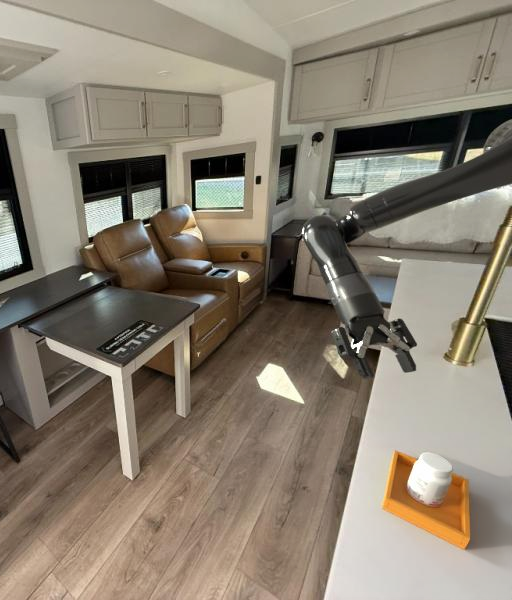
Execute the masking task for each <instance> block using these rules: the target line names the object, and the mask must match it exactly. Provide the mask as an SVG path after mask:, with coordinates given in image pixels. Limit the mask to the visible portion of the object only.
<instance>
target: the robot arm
mask: <svg viewBox="0 0 512 600" xmlns="http://www.w3.org/2000/svg"><path fill="white" fill-rule="evenodd" d="M489 134H490V135H488V137H487V138H486V139H485V143H484V145H483V149H482V153H481V154H479V155H477V156H475V157H473V158H471V159H469V160H467V161H464V162H462V163H459V164H457V165H454V166H451V167H450V168H446V169H444V170H442V171H438V172H435V173H432V174H429V175H425V176H423V177H421V176H420V177H418V178H415V179H412V180H408V181H404V182H401V183H399V184H396V185H394V186H392V187H389V188H386V189H384V190H381V191H380V192H377V193H375V194H373V195H371V196H368V197H366V198H364V199H362V200H359V201H357V202H356V203H354V204H352V205H351V206H350V207H349V210H348V212H347V213H346V214H344V215H342V216H340V217H339V218H337V219H334V218H333V217H331V216H329V215H325V214H319V215H314V216H312V217H310V218H308V220H306V221H305V223H304V224H303V226H302V230H301V237H302V240H303V242H304V244H305V246H306V248H307V249H308V251H309V253H310V255H311V256H312V258H313V260H314V261H315V263H316V265H317V267H318V271H319V273H320V275H321V277H322V279H323V283H324V284H325V286H326V290H327V293H328V296H329V298H330V301H331V303H332V305H333V308H334V310H335V312H336V314H337V316H338V319H339V321H340V322H341V324H342V325H344V326H339V327H337V328H335V329H333V330H331V332H330V333H331V335H332V339H333V342H334V345H335V347H336V350H337V352H338V355H339V357H340V358H341V359H342V360H343V359H348V360H350V361H352V363H353V365H354V367H355V369H356V371H357V374H358V376H360V377H361V378H362V379H363V380H368V379H373V378H374V377H375V374H374V372H373V370H372V367H371V365H370V364H369V361H368V359H367V357H365V355H366V351H367V349H368V348H369V347H370V346H380V345H381V346H382V347H384V348H388V349H389V350H391V351H392V352H393V353H394V356H395V359H396V360H397V362H398V364H399V366H400V368H401V370H402V372H403V373H405V374H406V373H414V372H417V364H416V362H415V360H414V358H413V356H412V354H411V352H410V350H411V349H413V348H416V347H417V346H418V343H417V342H416V339H415V338H414V336H413V335H412V332H411V331H410V330H409V327H408V326H407V324H406V323H405V321H404V319H402V318H400V317H399V318H397V319H394V320H391V321H388V320H386V318H385V309H384V307H383V305H382V303H381V301H380V300H379V298H378V296H377V293H376V292H375V290H374V288H373V286H372V284H371V282H370V280H369V279H368V277H366V275H365V273H364V271H363V270H362V267H361V266H360V263H359V262H358V260H357V258H356V256H355V255H354V254H353V253H352V252H351V250H350V248H349V247H348V245H350V244H352V243H353V242H355V241H357V240H358V239H360V238H361V237H363V236H365V235H367V234H369V233H370V232H374V231H376V230H379V229H382V228H385V227H387V226H390V225H392V224H395V223H397V222H399V221H400V222H401V221H402V220H405V219H407V218H410V217H413V216H415V215H418V214H420V213H423V212H426V211H428V210H432V209H434V208H437V207H440V206H443V205H446V204H449V203H453V202H455V201H458V200H461V199H465V198H468V197H471V196H474V195H478V194H481V193H485V192H489V191H492V190H494V189H498V188H502V187H506V186H509V185H512V118H511V119H509V120H507V121H505V122H503V123H501V124H500V125H499V126H497V127H496V128H494V130H493V131H491V133H489ZM349 337H350V338H351V341H350V339H349Z"/></svg>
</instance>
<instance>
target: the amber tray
mask: <svg viewBox="0 0 512 600" xmlns="http://www.w3.org/2000/svg"><path fill="white" fill-rule="evenodd" d="M418 460H419V458H416V457H413V456H411V455H408V454H406V453H403V452H401V451H398V450H394V452H393V453H392V457H391V460H390V465H389V470H388V475H387V481H386V485H385V489H384V495H383V500H382V504H381V509H383V510H385V511H386V512H389V513H390V514H392V515H394V516H397V517H398V518H400V519H403V521H404V520H405V521H406V522H408V523H410V524H413V525H414V526H416V527H418V528H420V529H422V530H424V531H425V532H428V533H430V534H432V535H434V536H436V537H438V538H440V539H441V540H444V541H446V542H448V543H450V544H452V545H454V546H456V547H457V548H460V549H462V550H463V551H464V550H466V548H467V546H468V544H469V543H470V541H471V517H470V514H471V513H470V481H469V478H466V477H463V476H461V475H458V474H456V473H454V472H452V473H451V477H452V481H451V484H450V486H449V489H448V491H447V493H446V496H445V498H444V500H443V502H442V504H441V505H440V506H438V507H431V506H427V505H424V504H422V503H420V502H418V501H417V500H415V499H414V498H413V497H412V496H411V495H410V494H409V493H408V491H407V488H406V486H407V483H408V480H409V477H410V474H411V472H412V469H413V466H414V464H415V462H416V461H418Z"/></svg>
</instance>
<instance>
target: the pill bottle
mask: <svg viewBox="0 0 512 600" xmlns="http://www.w3.org/2000/svg"><path fill="white" fill-rule="evenodd" d="M453 470H454V467H453V464H452V463H451V462H450V461H449V460H447V459H446V458H445V457H443V456H441V455H439V454H437V453H433V452H428V451H427V452H425V451H424V452H423V453H421V454H420V456H419V458H418V461H416V462H415V464H414V466H413V469H412V472H411V474H410V477H409V480H408V483H407V486H406V488H407V491H408V493H409V494H410V495H411V496H412V497H413V498H414V499H415V500H417V501H418V502H420V503H422V504H424V505H427V506H431V507H438V506H440V505H441V504H442V502H443V500H444V498H445V496H446V493H447V491H448V489H449V486H450V484H451V481H452V477H451V473H453Z"/></svg>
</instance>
